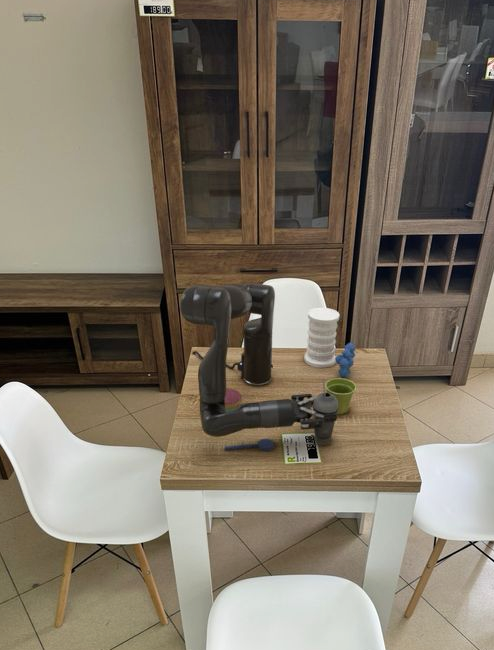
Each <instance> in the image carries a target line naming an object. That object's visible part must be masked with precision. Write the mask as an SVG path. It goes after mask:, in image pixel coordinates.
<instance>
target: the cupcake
mask: <svg viewBox="0 0 494 650" xmlns="http://www.w3.org/2000/svg"><path fill="white" fill-rule="evenodd" d="M242 402H243V396H242V394H241V393H240V392H239V391H237V389H234V388H228V387H226V397H225V407H226V413H228V412H232V411H235V410H236V407H237V406H238V405H239V404H242Z"/></svg>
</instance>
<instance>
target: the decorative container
mask: <svg viewBox="0 0 494 650" xmlns="http://www.w3.org/2000/svg"><path fill="white" fill-rule="evenodd" d="M307 318H308V320H309V321H308V330H307V336H308V337H307V340H306V341H307V346H306V352H305V353H304V356H303V358H304V359H303V360H304V363H306V364H307V365H308V366H311V367H313V368H323V369H324V368H325V369H326V368H331V367H332V366H334V365H335V364H337V362H336V360H335V358H336V357H337V356H336V355H335V352H336V344H337V339H336V338H337V329H338V322H339V320H340V313H339V311H337V310H335V309H333V308H330V307H329V308H328V307H314V308H312V309H310V310H308V312H307Z"/></svg>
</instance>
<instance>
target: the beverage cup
mask: <svg viewBox="0 0 494 650" xmlns="http://www.w3.org/2000/svg"><path fill="white" fill-rule="evenodd" d="M322 382H323V383H322V386H323V387H322V388H323V392H321V393H319V394H318V395H317V396H316V397H315V400H314V403H313V406H312V410H313V411H316V413H318V414H322V415H323V414H332V413H336V414H337V412H338V409H339V407H338V401H337V399H336V397H335V396H334V395H332V394H331V393H327V391H326V387H325V384H326V378H323V381H322ZM337 415H338V414H337ZM316 419H319V418H318V417H316ZM335 422H336V421H334V422H325V423H323V428H319V429H313V436H314V442H315V443H316V444H317V445H320V446H326V445H329V444H330V442H331V439H332V435H333V431H334V426H335ZM314 425H318V423H315V424H314Z"/></svg>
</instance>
